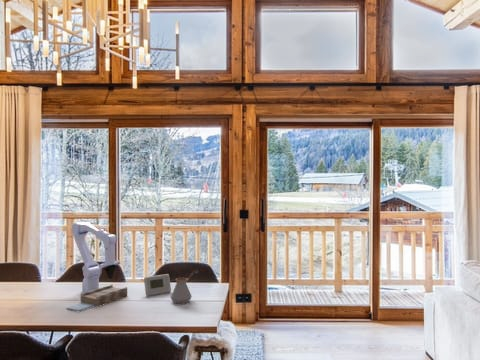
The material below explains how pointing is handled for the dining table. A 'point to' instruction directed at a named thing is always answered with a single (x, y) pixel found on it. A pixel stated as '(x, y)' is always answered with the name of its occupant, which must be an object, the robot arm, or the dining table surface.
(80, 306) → the lid plate
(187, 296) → the coffee pot
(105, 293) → the slide box
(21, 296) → the dining table surface
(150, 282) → the digital clock
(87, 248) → the robot arm
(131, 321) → the dining table surface
